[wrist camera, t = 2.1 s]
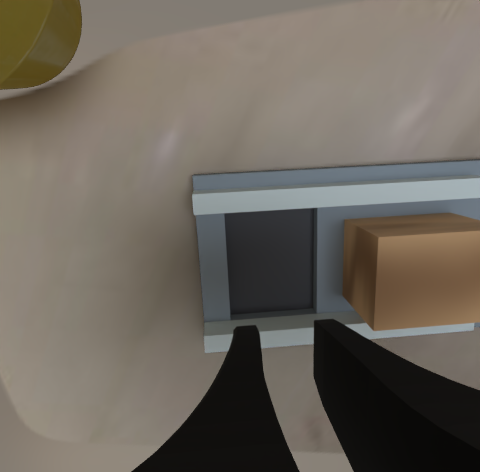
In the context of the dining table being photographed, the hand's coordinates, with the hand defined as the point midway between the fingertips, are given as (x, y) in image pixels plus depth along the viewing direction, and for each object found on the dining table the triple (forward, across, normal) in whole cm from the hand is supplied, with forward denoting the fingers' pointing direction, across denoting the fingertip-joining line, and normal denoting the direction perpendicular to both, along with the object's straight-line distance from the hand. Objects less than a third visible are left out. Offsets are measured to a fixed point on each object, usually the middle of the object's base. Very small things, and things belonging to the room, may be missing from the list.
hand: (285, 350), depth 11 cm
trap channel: (+9, -10, 0) cm, 13 cm away
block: (+8, -8, 0) cm, 12 cm away
